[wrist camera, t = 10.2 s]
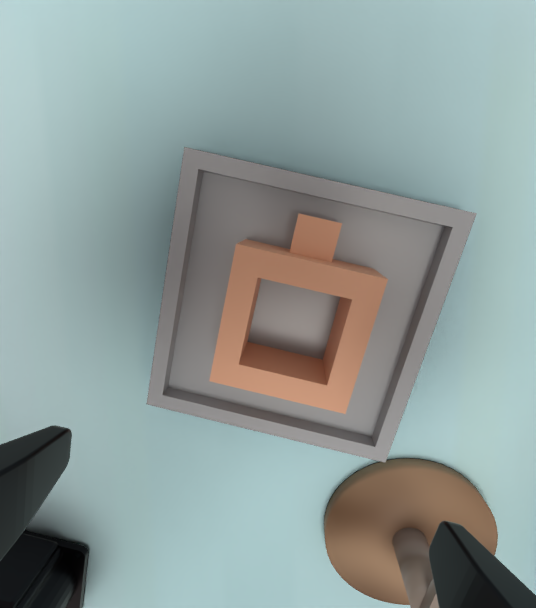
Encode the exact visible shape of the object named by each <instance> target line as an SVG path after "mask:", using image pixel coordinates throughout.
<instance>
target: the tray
mask: <svg viewBox="0 0 536 608" xmlns="http://www.w3.org/2000/svg"><path fill="white" fill-rule="evenodd" d="M298 214H304V215H308V216H312V217H317V218H321V219H326V220H330V221H334V222H339V223H342V226H341V230H340V233H339V237H338V241H337V245H336V248H335V252H334V256H333V259H335V260H339V261H343V262H348V263H352V264H356V265H360V266H365V267H369V268H373V269H375V270H376V271H378V272H379V273H380V274H382V275H383V276H384V277H386V278H387V279H388V281H387V284H386V288H385V291H384V294H383V297H382V300H381V303H380V306H379V310H378V313H377V316H376V319H375V322H374V325H373V329H372V332H371V335H370V338H369V341H368V344H367V348H366V351H365V354H364V357H363V360H362V363H361V366H360V370H359V373H358V376H357V379H356V382H355V385H354V389H353V392H352V395H351V398H350V401H349V404H348V408H347V411H346V414H343V413H339V412H335V411H330V410H326V409H322V408H318V407H314V406H310V405H306V404H301V403H297V402H293V401H289V400H285V399H281V398H277V397H272V396H268V395H264V394H260V393H256V392H252V391H248V390H243V389H239V388H235V387H231V386H227V385H223V384H219V383H215V382H210V381H209V380H210V374H211V369H212V364H213V359H214V354H215V349H216V344H217V339H218V333H219V328H220V323H221V318H222V313H223V308H224V303H225V298H226V292H227V287H228V282H229V277H230V272H231V267H232V262H233V257H234V252H235V246H236V244H237V243H239V242H241V241H243V240H245V239H248V240H253V241H257V242H261V243H266V244H270V245H274V246H278V247H283V248H287V249H290V248H291V243H292V239H293V235H294V231H295V226H296V222H297V218H298ZM476 214H477V213H472V212H468V211H463V210H459V209H455V208H450V207H446V206H441V205H437V204H433V203H428V202H424V201H419V200H415V199H411V198H406V197H402V196H397V195H393V194H389V193H384V192H380V191H375V190H371V189H367V188H362V187H358V186H353V185H349V184H345V183H340V182H336V181H332V180H327V179H323V178H318V177H314V176H310V175H305V174H301V173H296V172H292V171H288V170H283V169H279V168H274V167H270V166H266V165H261V164H257V163H252V162H248V161H244V160H239V159H235V158H230V157H226V156H222V155H217V154H213V153H208V152H204V151H200V150H195V149H191V148H186V147H184V153H183V160H182V166H181V173H180V180H179V187H178V194H177V200H176V207H175V214H174V221H173V228H172V234H171V241H170V248H169V255H168V262H167V268H166V275H165V282H164V289H163V296H162V302H161V309H160V316H159V323H158V330H157V336H156V343H155V350H154V357H153V364H152V370H151V377H150V384H149V391H148V398H147V404H148V405H152V406H156V407H160V408H164V409H168V410H172V411H176V412H180V413H185V414H189V415H193V416H197V417H201V418H205V419H209V420H213V421H217V422H221V423H225V424H230V425H234V426H238V427H242V428H246V429H250V430H254V431H258V432H262V433H266V434H270V435H274V436H279V437H283V438H287V439H291V440H295V441H299V442H303V443H307V444H311V445H315V446H319V447H324V448H328V449H332V450H336V451H340V452H344V453H348V454H352V455H356V456H360V457H364V458H368V459H373V460H377V461H381V462H386V459H387V456H388V454H389V451H390V448H391V446H392V443H393V440H394V437H395V435H396V432H397V429H398V426H399V424H400V421H401V418H402V416H403V413H404V410H405V407H406V405H407V402H408V399H409V396H410V394H411V391H412V388H413V386H414V383H415V380H416V377H417V375H418V372H419V369H420V366H421V364H422V361H423V358H424V355H425V353H426V350H427V347H428V345H429V342H430V339H431V336H432V334H433V331H434V328H435V325H436V323H437V320H438V317H439V315H440V312H441V309H442V306H443V304H444V301H445V298H446V295H447V293H448V290H449V287H450V285H451V282H452V279H453V276H454V274H455V271H456V268H457V265H458V263H459V260H460V257H461V255H462V252H463V249H464V246H465V244H466V241H467V238H468V235H469V233H470V230H471V227H472V224H473V222H474V219H475V216H476ZM339 300H340V297H339V296H335V295H330V294H326V293H322V292H318V291H313V290H309V289H305V288H300V287H296V286H292V285H288V284H283V283H279V282H275V281H271V280H266V279H262V278H261V283H260V287H259V292H258V296H257V301H256V305H255V310H254V314H253V319H252V324H251V328H250V333H249V337H248V342H251V343H255V344H259V345H263V346H267V347H272V348H276V349H280V350H284V351H288V352H293V353H297V354H301V355H305V356H309V357H314V358H318V359H322V360H323V357H324V353H325V350H326V346H327V343H328V339H329V336H330V332H331V328H332V325H333V321H334V318H335V314H336V311H337V307H338V304H339Z"/></svg>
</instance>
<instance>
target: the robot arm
mask: <svg viewBox="0 0 536 608" xmlns="http://www.w3.org/2000/svg"><path fill="white" fill-rule="evenodd" d="M71 437H72V433H71V430H70V429H68V428H64V427H60V426H50V427H47V428H45V429H42V430H39V431H36V432H34V433H31V434H28V435H26V436H23V437H20V438H17V439H15V440H12V441H9V442H7V443H4V444H1V445H0V608H82V606H83V597H84V588H85V579H86V570H87V561H88V549H87V548H86V547H85V546H83V545H79V544H75V543H71V542H67V541H63V540H59V539H55V538H51V537H47V536H44V535H40V534H36V533H32V532H28V531H24V530H25V529H26V527H27V526H28V524H29V523H30V521H31V520H32V518H33V517H34V515H35V514H36V512H37V511H38V509H39V508H40V506H41V505H42V503H43V502H44V500H45V499H46V497H47V496H48V494H49V493H50V491H51V490H52V488H53V487H54V485H55V484H56V482H57V481H58V479H59V478H60V476H61V474H62V473H63V471H64V470H65V468H66V466H67V464H68V462H69V458H70V448H71ZM429 560H430V565H431V570H432V575H433V580H434V585H435V590H436V595H437V600H438V605H439V608H536V595H535V594H534V593H533V592H532V591H531V590H529V589H528V588H527V587H526V586H525V585H524V584H523V583H522V582H521V581H520V580H519V579H518V578H517V577H516V576H515V575H514V574H513V573H512V572H510V571H509V570H508V569H507V568H506V567H505V566H504V565H503V564H502V563H501V562H500V561H499V560H498V559H497V558H496V557H495V556H494V555H493V554H492V553H490V552H489V551H488V550H487V549H486V548H485V547H484V546H483V545H482V544H481V543H480V542H479V541H478V540H477V539H476V538H475V537H474V536H473V535H472V534H470V533H469V532H468V531H467V530H466V529H465V528H464V527H463V526H462V525H460V524H458V523H453V522H449V521H442V522H441V523H440V524H439V526H438V528H437V530H436V533H435V535H434V537H433V540H432V542H431V544H430V547H429Z"/></svg>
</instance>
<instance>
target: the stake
mask: <svg viewBox="0 0 536 608" xmlns="http://www.w3.org/2000/svg"><path fill="white" fill-rule="evenodd" d="M442 521H449V522H453V523H458V524H460V525H462V526H463V527H464V528H465V529H466V530H467V531H468V532H469V533H470V534H472V535H473V536H474V537H475V538H476V539H477V540H478V541H479V542H480V543H481V544H482V545H483V546H484V547H485V548H486V549H487V550H488V551H489V552H490V553H492V554H493V555H495V552H496V547H497V539H498V534H497V526H496V522H495V519H494V516H493V514H492V512H491V510H490V508H489V507H488V505H487V504H486V502H485V501H484V499H483V498H482V496H481V495H480V493H479V492H478V490H477V489H476V487H475V486H474V485H473V484H472V483H471V482H470V481H469V480H468V479H466V478H465V477H464V476H463V475H461V474H460V473H458V472H456V471H455V470H453V469H451V468H449V467H447V466H444V465H442V464H439V463H436V462H432V461H428V460H422V459H412V458H403V459H392V460H386V462H378V463H375V464H372V465H370V466H367V467H365V468H363V469H361V470H359V471H357V472H356V473H354V474H353V475H351V476H350V477H349V478H347V479H346V480H345V481H344V482H343V483H342V484H341V485H340V486H339V487H338V488H337V490H336V491H335V492H334V494H333V495H332V497H331V499H330V501H329V503H328V506H327V508H326V512H325V517H324V531H325V543H326V549H327V553H328V556H329V559H330V561H331V563H332V565H333V567H334V568H335V570H336V571H337V573H338V574H339V575H340V576H341V577H342V578H343V579H344V580H345V581H346V582H347V583H348V584H349V585H351V586H352V587H353V588H355V589H356V590H358V591H360V592H361V593H363V594H365V595H367V596H369V597H372V598H374V599H377V600H381V601H384V602H389V603H394V604H403V605H410V606H411V608H439V605H438V600H437V595H436V590H435V585H434V580H433V575H432V570H431V565H430V560H429V547H430V544H431V542H432V540H433V537H434V535H435V533H436V530H437V528H438V526H439V524H440V523H441V522H442Z"/></svg>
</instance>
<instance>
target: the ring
mask: <svg viewBox="0 0 536 608" xmlns="http://www.w3.org/2000/svg"><path fill="white" fill-rule="evenodd" d="M341 226H342V223H339V222H334V221H330V220H326V219H321V218H317V217H312V216H308V215H304V214H298V218H297V222H296V226H295V231H294V235H293V239H292V243H291V248H290V249H287V248H283V247H278V246H274V245H270V244H266V243H261V242H257V241H253V240H248V239H245V240H243V241H241V242H239V243H237V244H236V246H235V252H234V257H233V262H232V267H231V272H230V277H229V282H228V287H227V292H226V298H225V303H224V308H223V313H222V318H221V323H220V328H219V333H218V339H217V344H216V349H215V354H214V359H213V364H212V369H211V374H210V380H209V381H210V382H215V383H219V384H223V385H227V386H231V387H235V388H239V389H243V390H248V391H252V392H256V393H260V394H264V395H268V396H272V397H277V398H281V399H285V400H289V401H293V402H297V403H301V404H306V405H310V406H314V407H318V408H322V409H326V410H330V411H335V412H339V413H343V414H346V411H347V408H348V404H349V401H350V398H351V395H352V392H353V389H354V385H355V382H356V379H357V376H358V373H359V370H360V366H361V363H362V360H363V357H364V354H365V351H366V348H367V344H368V341H369V338H370V335H371V332H372V329H373V325H374V322H375V319H376V316H377V313H378V310H379V306H380V303H381V300H382V297H383V294H384V291H385V288H386V284H387V281H388V279H387V278H386V277H384V276H383V275H382V274H380V273H379V272H378V271H376V270H375V269H373V268H369V267H365V266H360V265H356V264H352V263H348V262H343V261H339V260H335V259H333V256H334V252H335V248H336V245H337V241H338V237H339V233H340V230H341ZM261 278H262V279H266V280H271V281H275V282H279V283H283V284H288V285H292V286H296V287H300V288H305V289H309V290H313V291H318V292H322V293H326V294H330V295H335V296H339V297H340V300H339V304H338V307H337V311H336V314H335V318H334V321H333V325H332V328H331V332H330V336H329V339H328V343H327V346H326V350H325V353H324V357H323V360H322V359H318V358H314V357H309V356H305V355H301V354H297V353H293V352H288V351H284V350H280V349H276V348H272V347H267V346H263V345H259V344H255V343H251V342H248V337H249V333H250V328H251V324H252V319H253V314H254V310H255V305H256V301H257V296H258V292H259V287H260V283H261Z"/></svg>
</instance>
